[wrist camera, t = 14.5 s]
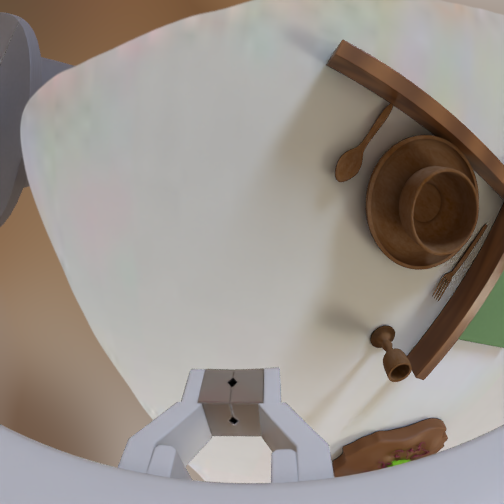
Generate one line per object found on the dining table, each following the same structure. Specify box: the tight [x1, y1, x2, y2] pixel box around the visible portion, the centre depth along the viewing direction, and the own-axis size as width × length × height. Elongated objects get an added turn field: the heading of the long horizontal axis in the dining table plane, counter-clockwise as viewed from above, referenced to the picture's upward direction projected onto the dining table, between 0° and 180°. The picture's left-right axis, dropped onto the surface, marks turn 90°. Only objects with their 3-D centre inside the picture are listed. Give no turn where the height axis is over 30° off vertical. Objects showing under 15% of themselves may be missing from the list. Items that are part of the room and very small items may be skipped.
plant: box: [333, 418, 448, 477], centre depth 32 cm, size 20×20×11 cm
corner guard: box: [327, 40, 504, 380], centre depth 23 cm, size 24×24×4 cm
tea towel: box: [459, 271, 504, 348], centre depth 27 cm, size 12×10×1 cm
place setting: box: [335, 103, 487, 382], centre depth 22 cm, size 18×20×6 cm
